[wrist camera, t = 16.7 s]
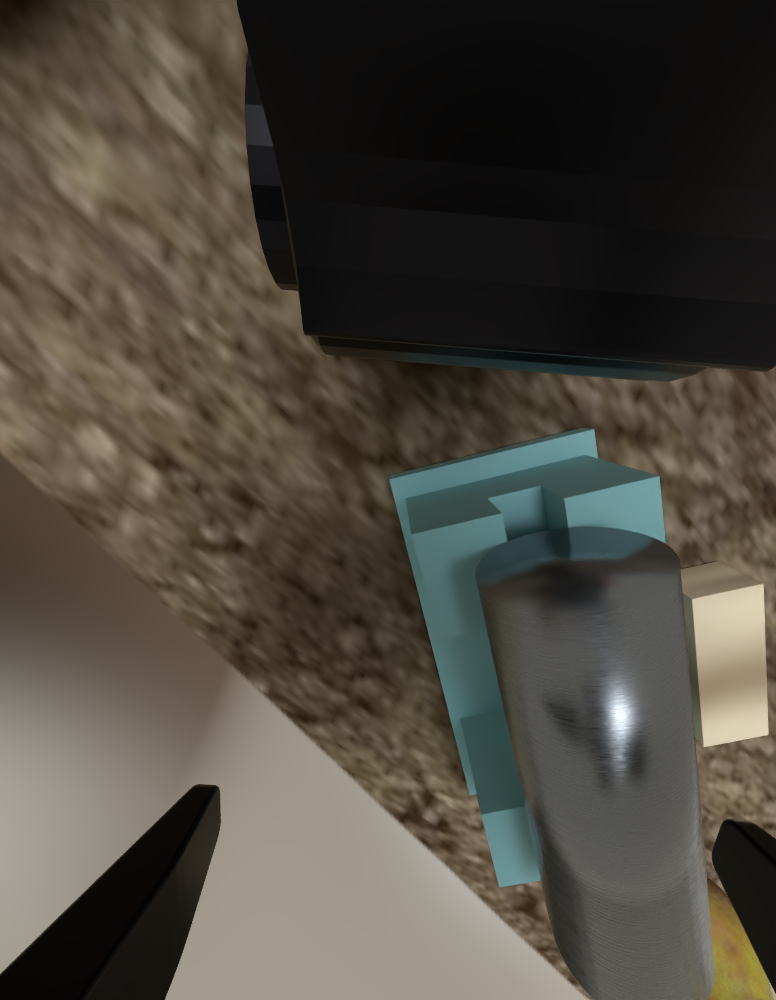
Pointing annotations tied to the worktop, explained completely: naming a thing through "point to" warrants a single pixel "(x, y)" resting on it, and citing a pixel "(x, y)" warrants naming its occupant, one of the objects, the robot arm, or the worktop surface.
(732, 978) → the fruit
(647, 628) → the grey rounded rod
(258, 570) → the worktop surface
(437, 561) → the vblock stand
